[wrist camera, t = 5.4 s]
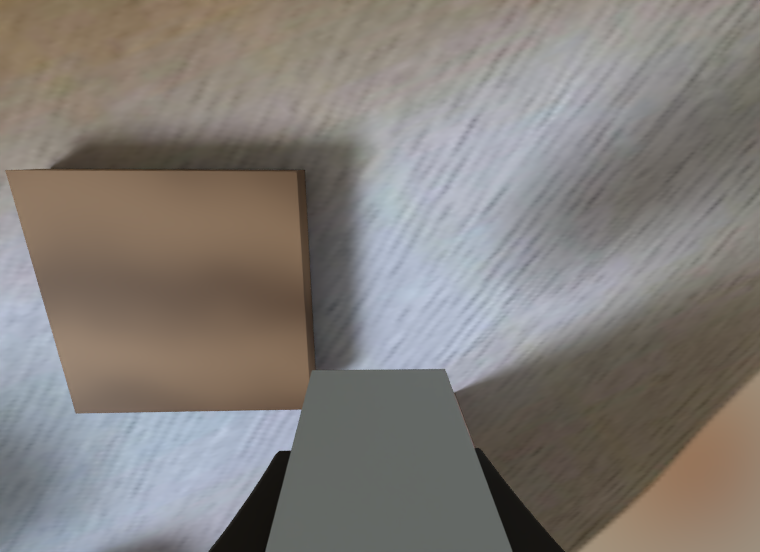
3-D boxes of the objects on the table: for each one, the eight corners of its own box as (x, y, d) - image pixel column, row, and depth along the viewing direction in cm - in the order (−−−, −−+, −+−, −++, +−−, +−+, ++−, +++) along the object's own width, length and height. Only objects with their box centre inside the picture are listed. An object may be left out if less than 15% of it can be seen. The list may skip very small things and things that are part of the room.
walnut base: (316, 385, 20) (311, 408, 18) (104, 388, 19) (75, 413, 17) (304, 169, 16) (296, 171, 15) (48, 168, 16) (5, 170, 14)
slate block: (437, 473, 12) (518, 838, 6) (317, 475, 12) (258, 852, 6) (444, 369, 11) (558, 677, 5) (312, 370, 11) (229, 690, 4)
